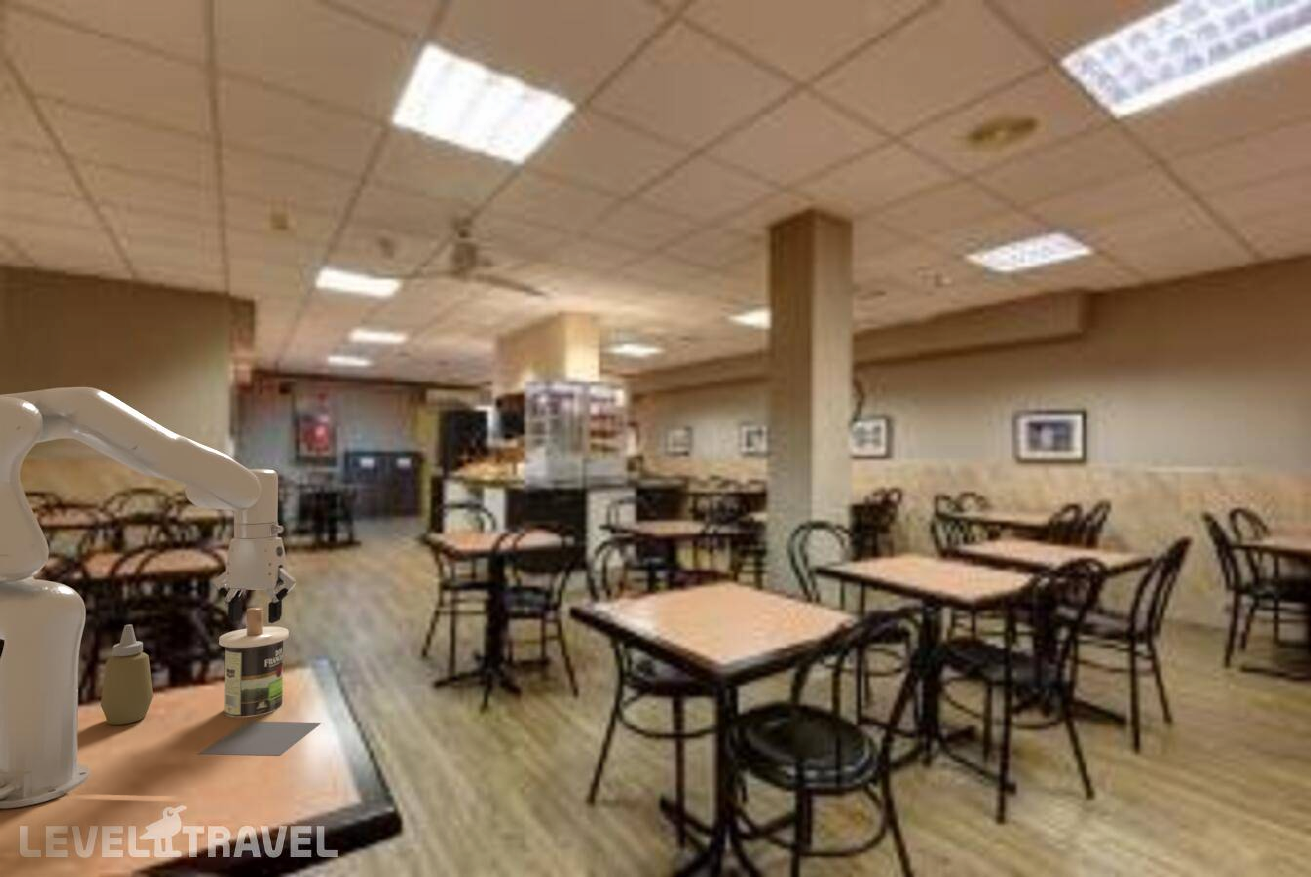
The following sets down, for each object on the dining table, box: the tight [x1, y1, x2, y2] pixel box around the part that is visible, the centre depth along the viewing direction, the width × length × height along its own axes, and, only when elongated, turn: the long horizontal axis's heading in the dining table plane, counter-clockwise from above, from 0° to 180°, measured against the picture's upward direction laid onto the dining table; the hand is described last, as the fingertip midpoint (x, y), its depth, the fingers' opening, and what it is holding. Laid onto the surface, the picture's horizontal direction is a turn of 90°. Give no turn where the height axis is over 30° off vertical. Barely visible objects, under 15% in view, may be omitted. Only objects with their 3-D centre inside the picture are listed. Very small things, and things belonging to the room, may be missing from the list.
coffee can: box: [224, 640, 285, 718], centre depth 143 cm, size 10×10×14 cm
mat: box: [198, 720, 322, 757], centre depth 128 cm, size 14×14×1 cm
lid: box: [218, 607, 290, 648], centre depth 143 cm, size 12×12×6 cm
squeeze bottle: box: [100, 624, 154, 726], centre depth 137 cm, size 8×8×18 cm
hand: (254, 620), depth 143 cm, fingers open, 7 cm apart
